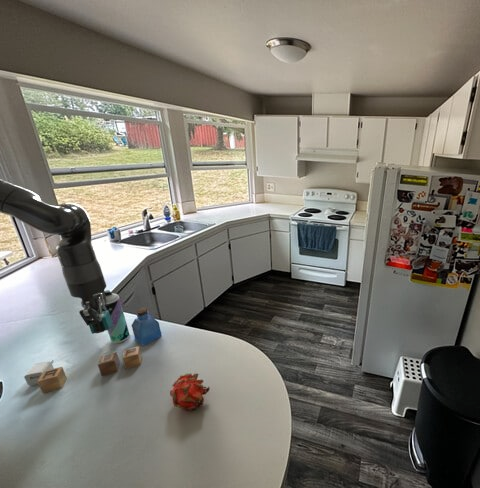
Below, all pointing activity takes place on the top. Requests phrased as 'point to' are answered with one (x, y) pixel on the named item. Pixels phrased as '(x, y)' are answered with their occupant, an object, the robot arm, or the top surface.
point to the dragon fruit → (188, 392)
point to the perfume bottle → (145, 327)
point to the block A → (52, 379)
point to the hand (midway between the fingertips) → (102, 327)
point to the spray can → (116, 318)
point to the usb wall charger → (37, 372)
